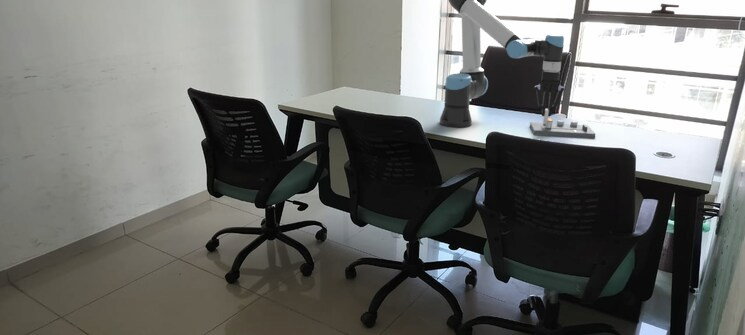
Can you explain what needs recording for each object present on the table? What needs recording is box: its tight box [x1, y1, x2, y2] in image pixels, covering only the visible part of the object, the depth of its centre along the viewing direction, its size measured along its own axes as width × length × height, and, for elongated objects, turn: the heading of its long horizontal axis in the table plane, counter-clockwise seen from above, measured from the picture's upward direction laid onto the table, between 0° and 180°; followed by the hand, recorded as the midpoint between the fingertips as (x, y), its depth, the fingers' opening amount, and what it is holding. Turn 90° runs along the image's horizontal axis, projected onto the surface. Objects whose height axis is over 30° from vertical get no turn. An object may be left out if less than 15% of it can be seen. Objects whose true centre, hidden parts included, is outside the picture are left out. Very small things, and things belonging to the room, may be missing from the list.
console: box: [529, 120, 596, 139], centre depth 242 cm, size 26×16×4 cm, turn 80°
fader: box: [546, 118, 553, 128], centre depth 241 cm, size 2×4×3 cm, turn 170°
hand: (545, 123), depth 241 cm, fingers closed
